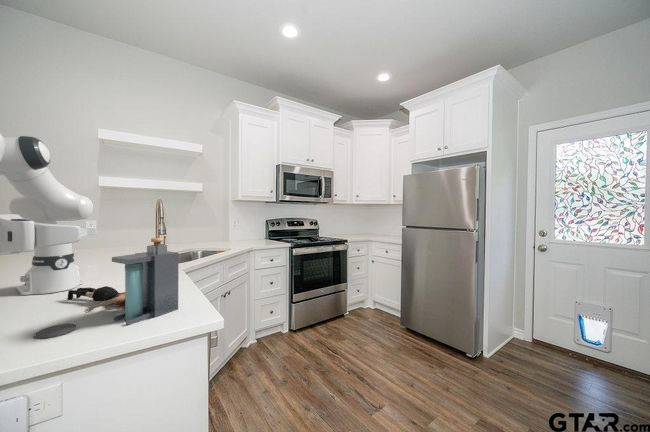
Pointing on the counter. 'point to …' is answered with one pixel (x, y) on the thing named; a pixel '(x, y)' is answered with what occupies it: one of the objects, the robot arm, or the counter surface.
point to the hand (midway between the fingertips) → (84, 230)
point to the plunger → (157, 241)
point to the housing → (155, 281)
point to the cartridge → (133, 290)
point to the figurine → (99, 296)
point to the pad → (55, 331)
